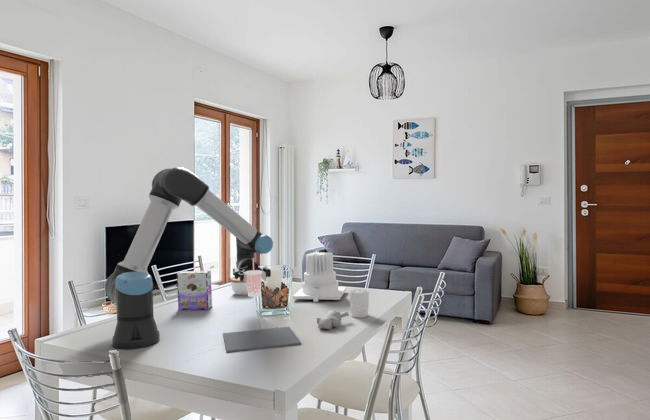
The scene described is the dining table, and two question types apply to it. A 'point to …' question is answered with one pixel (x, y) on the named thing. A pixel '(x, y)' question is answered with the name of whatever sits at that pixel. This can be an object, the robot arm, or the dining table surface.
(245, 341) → the mat
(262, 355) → the dining table surface
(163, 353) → the dining table surface
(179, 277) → the candy box
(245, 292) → the lidded jar
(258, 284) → the beverage cup
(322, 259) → the white finned lamp
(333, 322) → the bunny figurine
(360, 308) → the white cup
